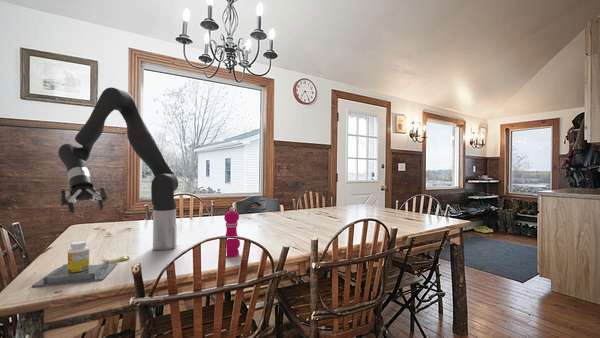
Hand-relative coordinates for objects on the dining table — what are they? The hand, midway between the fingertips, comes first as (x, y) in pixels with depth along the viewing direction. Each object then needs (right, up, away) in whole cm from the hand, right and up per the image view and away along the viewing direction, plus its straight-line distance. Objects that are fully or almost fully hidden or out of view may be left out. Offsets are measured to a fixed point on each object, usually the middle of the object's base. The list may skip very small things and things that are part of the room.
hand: (87, 210), depth 104 cm
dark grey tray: (+9, -19, -15) cm, 26 cm away
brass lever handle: (+13, -19, -2) cm, 23 cm away
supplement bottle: (+9, -19, -15) cm, 25 cm away
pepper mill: (+54, -20, +8) cm, 59 cm away
